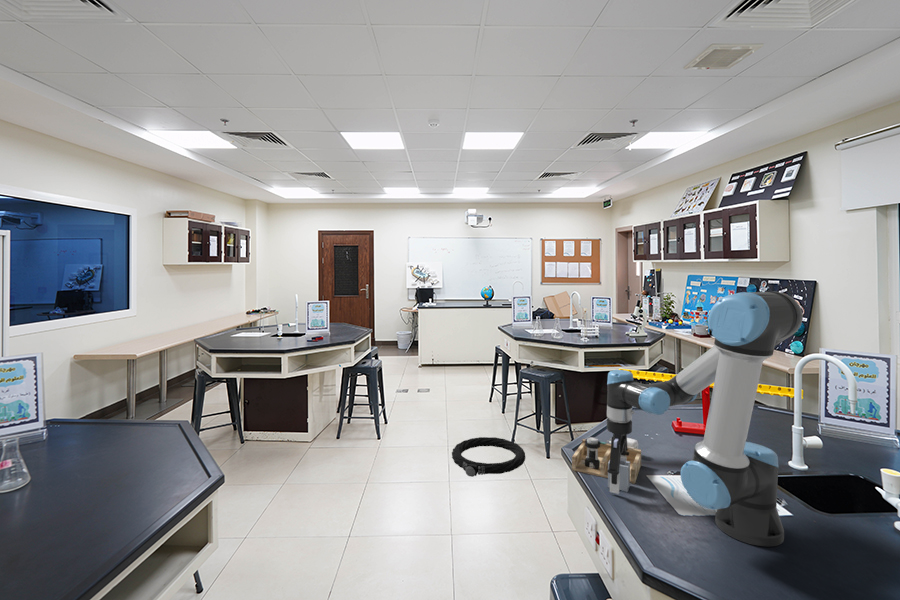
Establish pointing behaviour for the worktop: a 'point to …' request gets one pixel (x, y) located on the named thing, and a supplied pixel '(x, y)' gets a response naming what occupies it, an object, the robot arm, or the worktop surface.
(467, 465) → the cable lock
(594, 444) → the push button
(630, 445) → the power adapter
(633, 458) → the divided wooden rack
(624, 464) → the block
